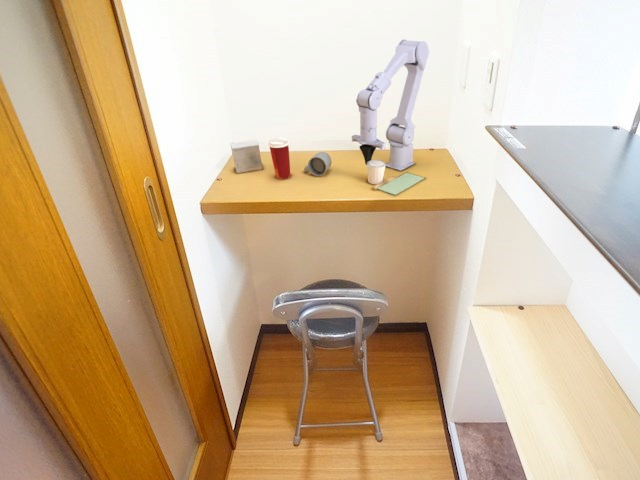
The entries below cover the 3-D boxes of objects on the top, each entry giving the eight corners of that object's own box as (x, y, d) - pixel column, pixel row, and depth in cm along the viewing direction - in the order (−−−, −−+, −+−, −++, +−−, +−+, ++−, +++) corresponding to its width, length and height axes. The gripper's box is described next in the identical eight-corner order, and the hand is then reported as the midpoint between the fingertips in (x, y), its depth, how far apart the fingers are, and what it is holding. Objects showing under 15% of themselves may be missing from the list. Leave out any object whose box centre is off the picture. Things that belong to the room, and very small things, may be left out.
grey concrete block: (237, 173, 158) (231, 148, 152) (235, 168, 163) (229, 142, 157) (263, 169, 161) (258, 144, 155) (260, 163, 166) (256, 139, 160)
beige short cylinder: (383, 185, 146) (384, 168, 141) (364, 184, 146) (365, 166, 142) (385, 177, 151) (386, 160, 146) (367, 175, 152) (368, 158, 147)
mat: (406, 173, 153) (406, 172, 153) (424, 178, 149) (424, 177, 149) (377, 189, 143) (377, 188, 143) (394, 195, 139) (394, 194, 138)
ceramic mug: (333, 168, 159) (331, 150, 155) (327, 176, 153) (325, 157, 148) (308, 167, 162) (306, 148, 157) (301, 175, 155) (298, 156, 151)
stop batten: (393, 178, 150) (393, 175, 149) (395, 179, 149) (395, 176, 149) (372, 189, 143) (372, 186, 143) (375, 190, 142) (375, 187, 142)
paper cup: (296, 173, 156) (292, 138, 148) (286, 181, 151) (281, 145, 143) (280, 171, 159) (275, 136, 151) (269, 178, 154) (263, 142, 145)
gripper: (345, 125, 141) (346, 162, 149) (376, 133, 133) (376, 172, 141) (358, 121, 145) (359, 157, 153) (390, 128, 137) (388, 166, 145)
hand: (368, 164), depth 147 cm, fingers closed, pressing on beige short cylinder
